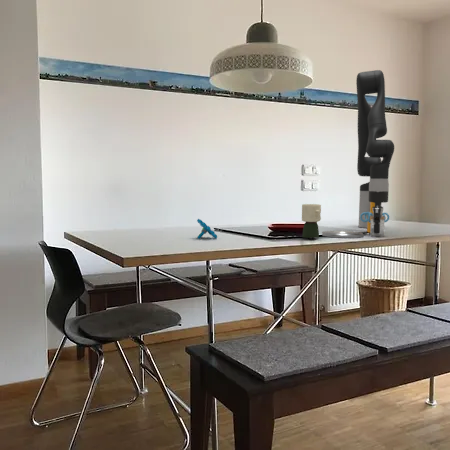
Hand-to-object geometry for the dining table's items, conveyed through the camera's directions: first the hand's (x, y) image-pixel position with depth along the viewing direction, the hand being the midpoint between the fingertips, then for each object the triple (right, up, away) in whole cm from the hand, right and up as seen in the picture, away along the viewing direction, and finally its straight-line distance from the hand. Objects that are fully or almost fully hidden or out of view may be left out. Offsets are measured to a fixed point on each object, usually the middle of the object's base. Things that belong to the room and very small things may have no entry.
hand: (377, 232), depth 198 cm
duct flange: (-14, -1, 0) cm, 14 cm away
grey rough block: (0, -1, 0) cm, 2 cm away
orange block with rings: (+3, 0, +14) cm, 14 cm away
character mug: (-28, -2, -11) cm, 31 cm away
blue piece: (-68, -2, -12) cm, 69 cm away
